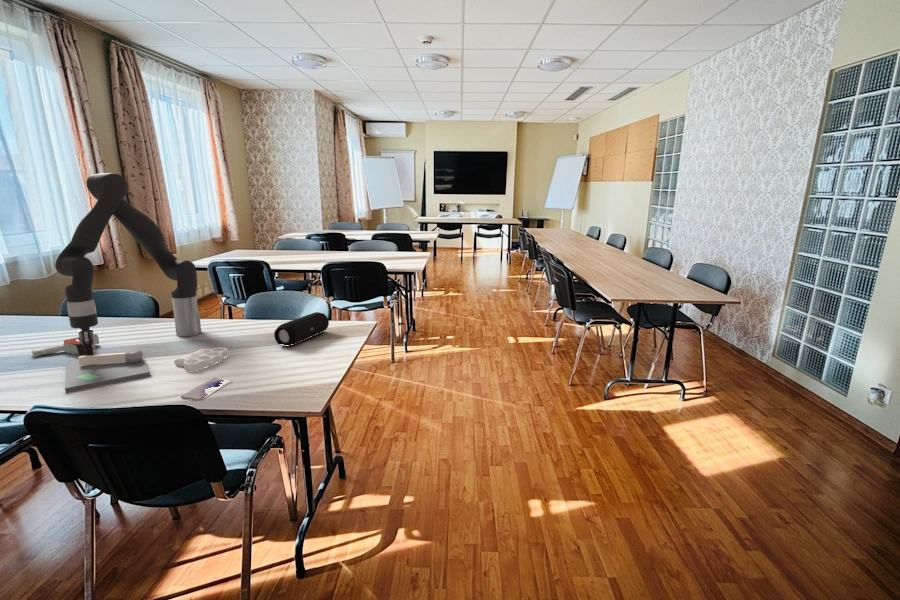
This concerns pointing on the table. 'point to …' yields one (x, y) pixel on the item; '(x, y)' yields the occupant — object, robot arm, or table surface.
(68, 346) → the tape dispenser
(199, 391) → the smartphone
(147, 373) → the dial plate
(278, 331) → the portable speaker
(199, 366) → the grey paint palette
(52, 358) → the table surface
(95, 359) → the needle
